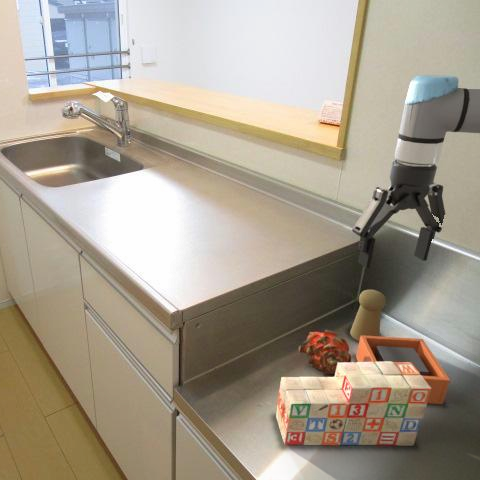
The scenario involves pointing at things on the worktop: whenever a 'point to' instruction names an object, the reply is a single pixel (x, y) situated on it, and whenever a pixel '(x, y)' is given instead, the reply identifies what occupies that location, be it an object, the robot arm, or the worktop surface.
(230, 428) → the worktop surface
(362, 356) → the crate
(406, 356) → the grey block
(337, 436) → the stack of blocks
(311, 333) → the dragon fruit
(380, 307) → the cork
